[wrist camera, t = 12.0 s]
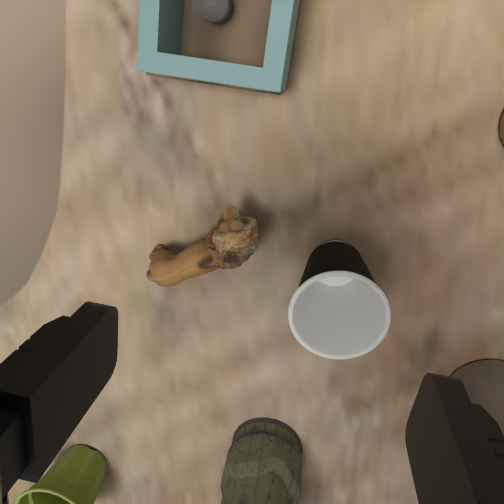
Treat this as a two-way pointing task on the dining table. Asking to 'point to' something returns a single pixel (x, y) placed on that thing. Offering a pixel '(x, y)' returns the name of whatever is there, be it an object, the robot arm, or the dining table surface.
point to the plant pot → (69, 479)
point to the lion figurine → (207, 250)
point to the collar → (174, 64)
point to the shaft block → (225, 33)
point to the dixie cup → (338, 304)
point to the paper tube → (502, 128)
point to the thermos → (263, 464)
